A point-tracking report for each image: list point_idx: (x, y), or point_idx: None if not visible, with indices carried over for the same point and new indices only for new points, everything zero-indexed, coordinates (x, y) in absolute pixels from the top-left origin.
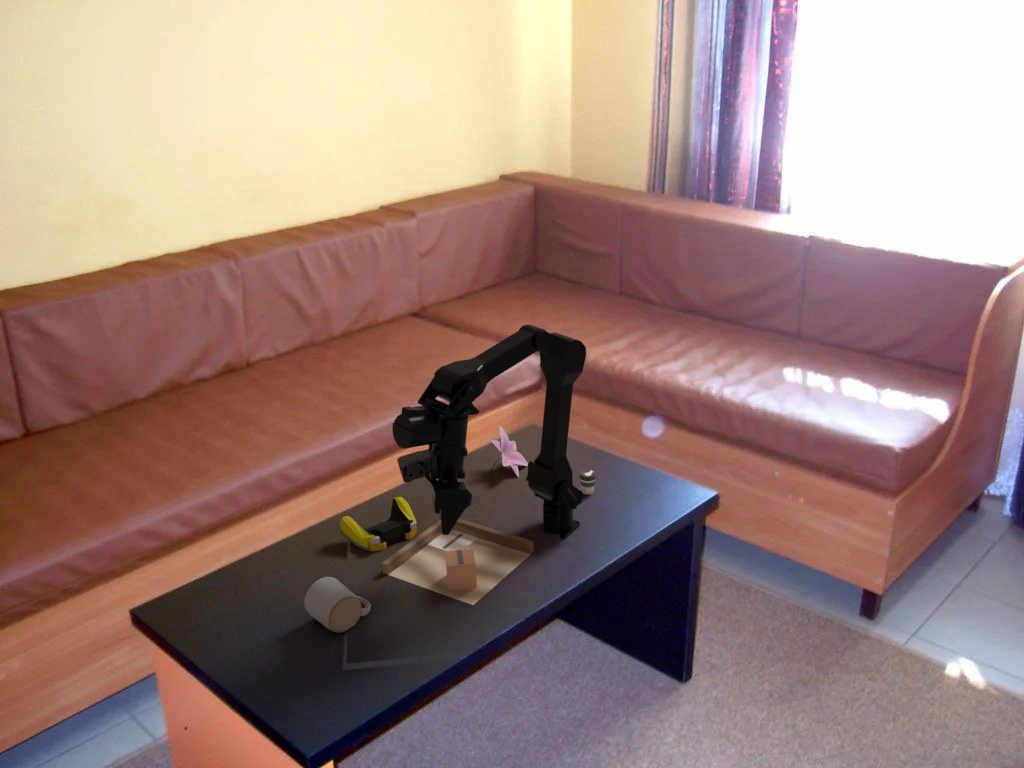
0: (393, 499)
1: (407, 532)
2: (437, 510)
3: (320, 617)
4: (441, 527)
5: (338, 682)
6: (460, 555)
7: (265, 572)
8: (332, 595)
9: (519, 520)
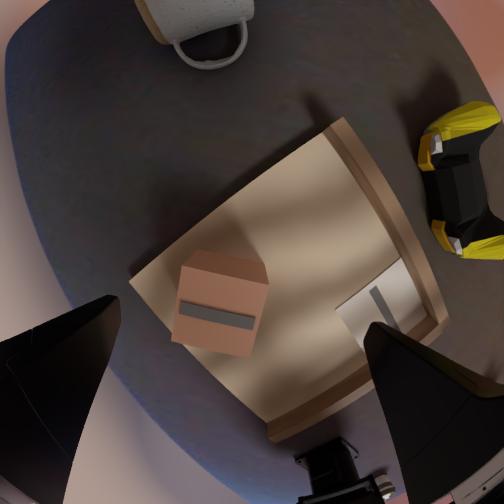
0: None
1: (445, 227)
2: (374, 336)
3: None
4: (90, 308)
5: (63, 38)
6: (222, 318)
7: None
8: None
9: (381, 419)
